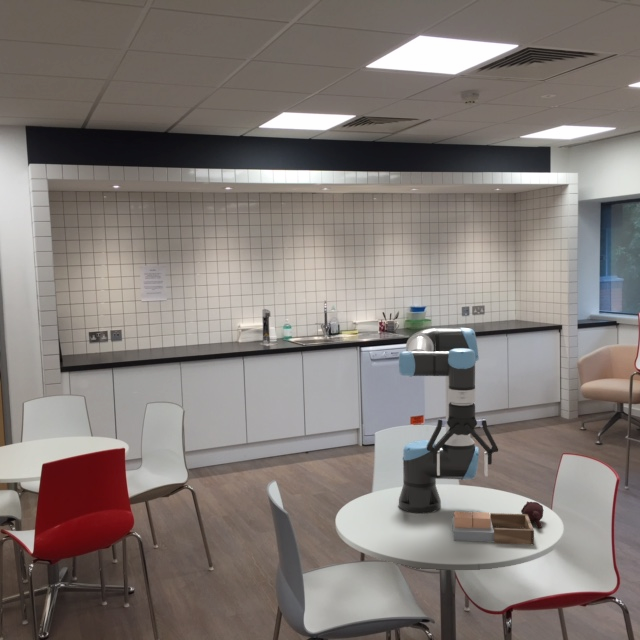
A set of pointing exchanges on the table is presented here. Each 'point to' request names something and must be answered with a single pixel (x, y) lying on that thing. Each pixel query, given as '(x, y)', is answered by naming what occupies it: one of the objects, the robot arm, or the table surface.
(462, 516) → the tile
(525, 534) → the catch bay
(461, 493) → the table surface
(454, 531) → the board
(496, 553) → the table surface
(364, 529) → the table surface
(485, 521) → the tile
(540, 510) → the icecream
